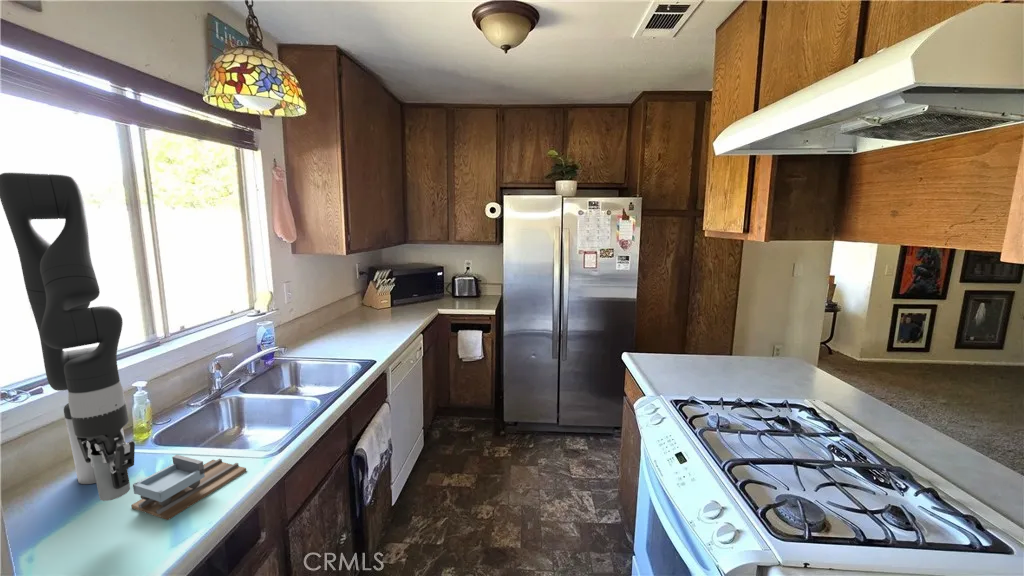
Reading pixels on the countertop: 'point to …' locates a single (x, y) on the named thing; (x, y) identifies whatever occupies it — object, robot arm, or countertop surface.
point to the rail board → (193, 490)
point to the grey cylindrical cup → (106, 479)
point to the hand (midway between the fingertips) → (113, 483)
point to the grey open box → (171, 480)
